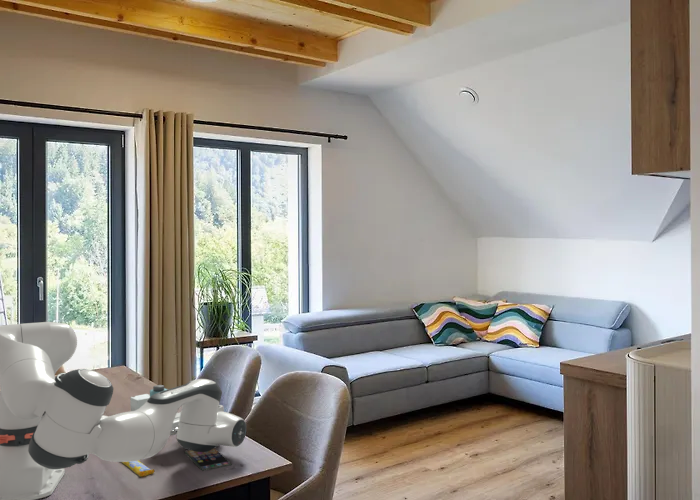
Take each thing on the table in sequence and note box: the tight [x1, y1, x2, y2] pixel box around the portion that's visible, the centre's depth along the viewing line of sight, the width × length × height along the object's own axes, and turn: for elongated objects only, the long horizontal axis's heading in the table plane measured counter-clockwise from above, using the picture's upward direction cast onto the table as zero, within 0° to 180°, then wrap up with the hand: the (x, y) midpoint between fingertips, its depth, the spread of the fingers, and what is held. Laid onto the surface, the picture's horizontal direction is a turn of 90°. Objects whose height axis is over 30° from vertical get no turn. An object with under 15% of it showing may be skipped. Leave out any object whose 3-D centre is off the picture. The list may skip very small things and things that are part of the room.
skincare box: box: [129, 393, 150, 411], centre depth 211 cm, size 6×6×7 cm
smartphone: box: [184, 447, 233, 472], centre depth 174 cm, size 8×15×1 cm, turn 31°
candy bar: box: [121, 460, 155, 478], centre depth 168 cm, size 17×4×2 cm, turn 39°
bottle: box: [149, 384, 168, 397], centre depth 193 cm, size 5×5×15 cm
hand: (170, 415), depth 190 cm, fingers open, 8 cm apart
